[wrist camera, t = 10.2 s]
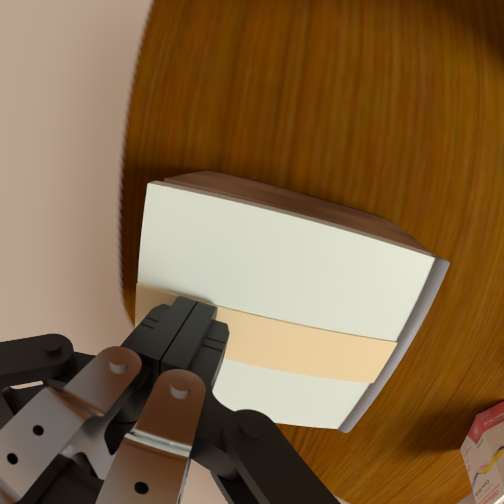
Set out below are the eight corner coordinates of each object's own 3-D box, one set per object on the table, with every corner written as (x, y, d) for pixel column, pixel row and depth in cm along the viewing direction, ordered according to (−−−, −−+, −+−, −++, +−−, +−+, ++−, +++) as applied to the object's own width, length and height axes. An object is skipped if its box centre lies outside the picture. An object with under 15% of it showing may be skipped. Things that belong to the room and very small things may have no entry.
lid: (442, 257, 10) (453, 265, 9) (349, 420, 13) (352, 432, 12) (155, 180, 10) (144, 184, 9) (142, 378, 13) (135, 391, 12)
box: (390, 220, 15) (434, 254, 10) (334, 355, 19) (342, 419, 13) (208, 170, 16) (164, 178, 10) (183, 315, 19) (147, 369, 14)
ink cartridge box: (474, 414, 20) (512, 515, 6) (506, 397, 19) (550, 488, 5) (457, 450, 22) (481, 536, 8) (487, 436, 21) (516, 516, 7)
